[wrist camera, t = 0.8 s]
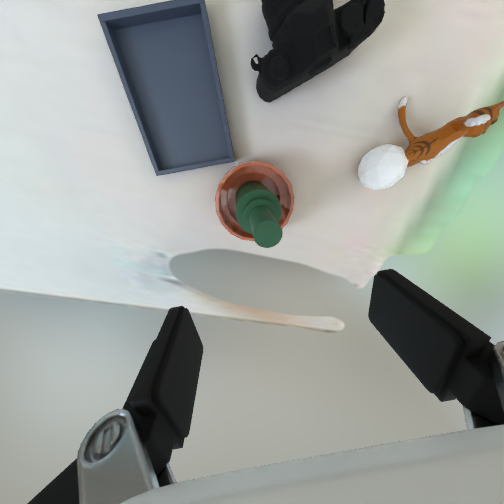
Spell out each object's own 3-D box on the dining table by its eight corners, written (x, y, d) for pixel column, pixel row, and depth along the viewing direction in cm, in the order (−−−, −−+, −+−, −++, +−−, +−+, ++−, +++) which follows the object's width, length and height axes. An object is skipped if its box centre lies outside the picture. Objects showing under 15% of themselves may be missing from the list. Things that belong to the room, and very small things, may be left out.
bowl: (210, 168, 31) (205, 170, 27) (282, 154, 31) (291, 154, 27) (226, 234, 37) (225, 246, 32) (288, 223, 37) (296, 233, 32)
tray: (109, 27, 24) (96, 14, 21) (206, 9, 24) (203, -6, 21) (161, 174, 31) (156, 175, 29) (234, 161, 31) (234, 161, 29)
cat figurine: (380, 186, 25) (569, 98, 19) (342, 112, 26) (512, 6, 20) (359, 204, 37) (472, 152, 32) (334, 152, 38) (440, 93, 33)
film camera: (340, -45, 22) (399, -157, 14) (356, 56, 27) (409, 13, 19) (227, 29, 24) (224, -33, 16) (259, 112, 29) (268, 95, 21)
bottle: (232, 184, 32) (229, 209, 17) (267, 177, 32) (297, 196, 17) (239, 218, 35) (242, 267, 19) (271, 212, 35) (300, 256, 19)
